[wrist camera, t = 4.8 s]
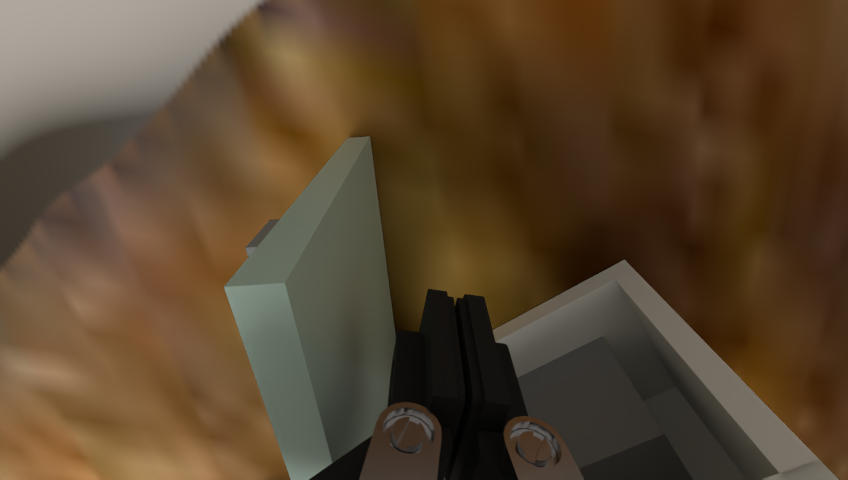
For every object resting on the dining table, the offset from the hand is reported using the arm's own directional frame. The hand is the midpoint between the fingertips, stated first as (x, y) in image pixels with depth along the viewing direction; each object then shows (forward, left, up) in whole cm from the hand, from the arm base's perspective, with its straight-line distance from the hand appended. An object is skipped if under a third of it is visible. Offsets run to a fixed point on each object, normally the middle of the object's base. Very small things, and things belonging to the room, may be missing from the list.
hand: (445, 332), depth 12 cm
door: (0, +4, -8) cm, 9 cm away
